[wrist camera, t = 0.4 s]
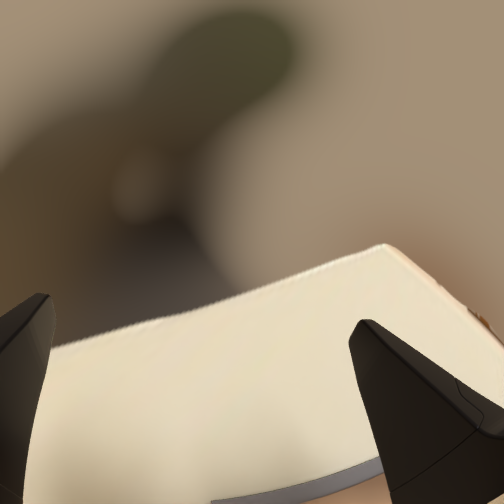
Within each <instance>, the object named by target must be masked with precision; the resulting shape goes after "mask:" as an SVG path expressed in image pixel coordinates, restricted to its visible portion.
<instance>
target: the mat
mask: <svg viewBox="0 0 504 504" xmlns="http://www.w3.org/2000/svg"><path fill="white" fill-rule="evenodd" d="M382 473H384V470H383V467H382V463H381V460H380V456H379V457H377V458H374V459H372V460H370V461H367V462H365V463H362V464H360V465H357V466H355V467H352V468H349V469H347V470H344V471H341V472H338V473H335V474H332V475H329V476H326V477H323V478H320V479H317V480H313V481H310V482H306V483H303V484H299V485H295V486H291V487H287V488H283V489H279V490H275V491H270V492H265V493H260V494H255V495H249V496H244V497H237V498H230V499H223V500H214V501H211V503H212V504H300V503H304V502H307V501H311V500H314V499H317V498H320V497H323V496H326V495H329V494H332V493H335V492H338V491H341V490H344V489H346V488H349V487H351V486H354V485H357V484H359V483H361V482H364V481H366V480H369V479H371V478H373V477H375V476H378V475H380V474H382Z"/></svg>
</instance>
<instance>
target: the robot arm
mask: <svg viewBox="0 0 504 504" xmlns="http://www.w3.org/2000/svg"><path fill="white" fill-rule="evenodd" d="M55 327H56V316H55V312H54V307H53V302H52V298H51V296H50V295H49V294H44V293H36V294H34V295H32V296H31V297H29V298H28V299H26V300H25V301H23V302H22V303H20V304H19V305H18V306H16V307H15V308H13V309H12V310H10V311H9V312H7V313H6V314H4V315H3V316H1V317H0V504H23V499H22V498H23V490H24V479H25V471H26V463H27V456H28V450H29V444H30V438H31V433H32V428H33V423H34V418H35V414H36V409H37V405H38V401H39V397H40V393H41V389H42V385H43V382H44V378H45V374H46V370H47V365H48V360H49V355H50V350H51V344H52V340H53V336H54V331H55ZM349 349H350V353H351V357H352V362H353V366H354V370H355V375H356V379H357V384H358V387H359V391H360V394H361V397H362V400H363V403H364V406H365V409H366V413H367V416H368V419H369V422H370V425H371V429H372V432H373V435H374V439H375V442H376V446H377V449H378V452H379V456H380V460H381V463H382V467H383V470H384V474H385V478H386V481H387V485H388V489H389V492H390V497H391V501H392V504H504V409H503V408H502V407H500V406H499V405H497V404H495V403H494V402H492V401H490V400H489V399H487V398H485V397H484V396H482V395H481V394H479V393H477V392H476V391H474V390H473V389H471V388H470V387H468V386H467V385H465V384H464V383H462V382H461V381H460V380H458V379H457V378H454V376H453V375H451V374H450V373H448V372H447V371H445V370H444V369H443V368H441V367H440V366H438V365H437V364H435V363H434V362H433V361H431V360H430V359H428V358H427V357H425V356H424V355H423V354H421V353H420V352H418V351H417V350H415V349H414V348H413V347H411V346H410V345H408V344H407V343H405V342H404V341H403V340H401V339H400V338H398V337H397V336H395V335H394V334H392V333H391V332H390V331H388V330H387V329H385V328H384V327H382V326H381V325H379V324H378V323H376V322H375V321H374V320H371V319H362V320H360V321H359V322H358V323H357V325H356V327H355V329H354V331H353V333H352V334H351V336H350V338H349Z"/></svg>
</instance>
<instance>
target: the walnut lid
mask: <svg viewBox="0 0 504 504" xmlns="http://www.w3.org/2000/svg"><path fill="white" fill-rule="evenodd" d="M300 504H392V501H391V497H390V492H389V489H388V485H387V481H386V478H385V474H384V473H382V474H380V475H378V476H375V477H373V478H371V479H369V480H366V481H364V482H361V483H359V484H357V485H354V486H351V487H349V488H346V489H344V490H341V491H338V492H335V493H332V494H329V495H326V496H323V497H320V498H317V499H314V500H311V501H307V502H304V503H300Z"/></svg>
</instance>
